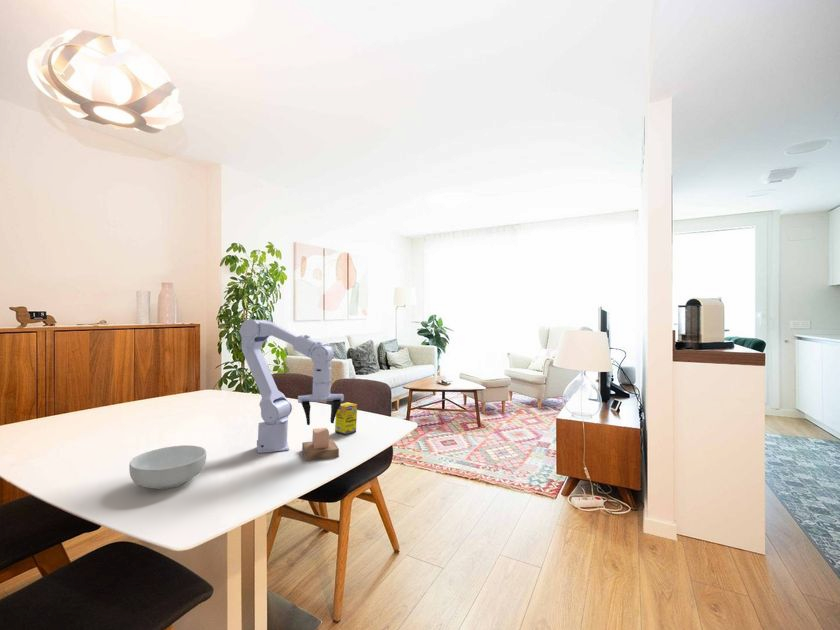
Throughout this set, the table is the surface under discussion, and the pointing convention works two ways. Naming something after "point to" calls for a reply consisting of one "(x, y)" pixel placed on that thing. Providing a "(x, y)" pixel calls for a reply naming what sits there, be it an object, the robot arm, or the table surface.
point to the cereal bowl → (167, 466)
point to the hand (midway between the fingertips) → (320, 423)
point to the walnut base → (320, 451)
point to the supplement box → (346, 418)
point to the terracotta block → (320, 438)
